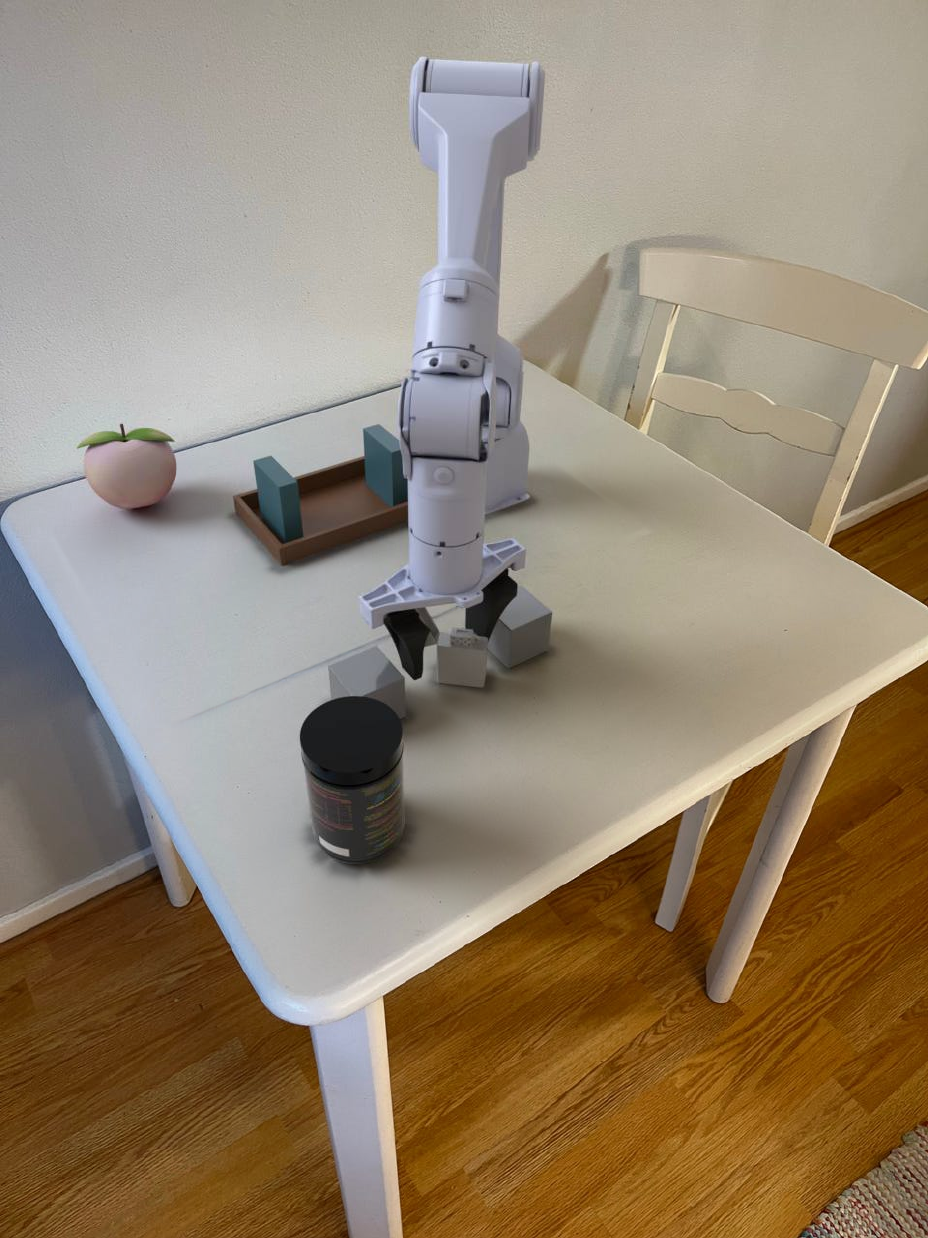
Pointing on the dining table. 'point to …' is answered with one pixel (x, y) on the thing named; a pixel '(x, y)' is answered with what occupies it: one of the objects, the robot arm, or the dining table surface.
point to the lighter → (457, 654)
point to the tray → (325, 512)
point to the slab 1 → (278, 499)
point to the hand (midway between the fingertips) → (444, 658)
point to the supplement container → (354, 777)
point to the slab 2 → (384, 465)
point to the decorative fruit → (130, 466)
